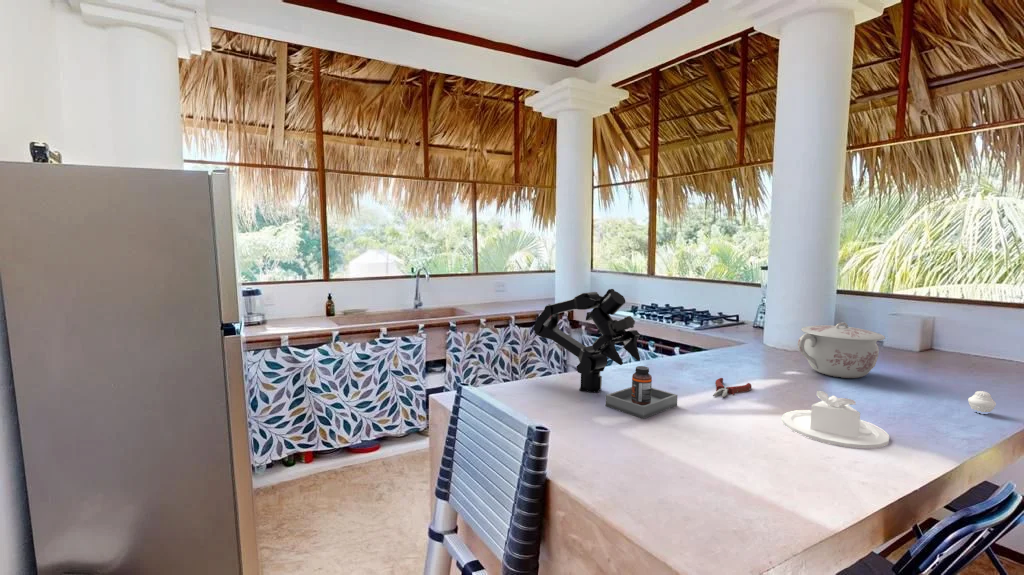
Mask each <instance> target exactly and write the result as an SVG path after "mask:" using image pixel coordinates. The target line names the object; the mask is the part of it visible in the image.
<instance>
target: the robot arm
mask: <svg viewBox="0 0 1024 575" xmlns="http://www.w3.org/2000/svg"><path fill="white" fill-rule="evenodd" d="M625 304H626V299H625V297H624V295H622V294H621V293H620V292H618V291H615V289H614V288H609V289H607V291H606V292H605V294H604V295H603V296H602V295H600V293H598V292H596V291H590V292H581V293H580V294H577V295H576V296H575V297H574V298H571V299H567V300H564V301H558V302H555V303H551V304H550V303H549V304H546V305H545V307H544V308H543V311H542V312H541V313H540V314H539V315H538V316H537V318H536V320H535V323H534V325H533V331H534V334H535V335H536V336H538V337H540V338H544V339H547V340H551V341H553V342H555V343H556V344H557V345H558V346H560V347H562V348H563V349H564V350H566V351H568V352H570V353H571V354H572V355H574V356H575V357H576V358H578V361H579V363H578V364H577V366H576V371H577V373H579V374H580V387H579V389H578V390H579V391H582V392H589V393H599V391H600V390H601V389H602V385H603V384H602V381H603V380H602V378H603V377H602V376H601V372H604V370H605V367H606V366H607V365H608V359H609V360H612V361H613V362H614V363H616V364H618V365H619V366H622V365H624V361H623V360H622V358H621V355H620V354H619V352H618V351H617V349H616V344H618V343H620V344H621V346H622V348H623V350H625V351H626V352H628V353H629V354H630V355H631V356H632V357H633V358H634V359H635V360H636V361H637V362H638V361H640V360H641V355H640V352H639V348H638V343H637V342H638V340H639V338H640V336H641V335H640V332H639V331H638V330H637V329H633V328H635V323H636V320H635V319H634V318H633V316H632V315H627V316H625V317H624V318H622V319H620V320H618V319H613V318H612V317H611V315H615V314H616V313H617V312H618V311H619V310H620V309H621V308H622V307H623V306H624V305H625ZM591 309H592V310H591ZM574 310H591V311H589V312H586V316H585V321H593V323H594V324H595V326H596V328H597V330H596V332H597V334H601V335H600V336H599V337H598V338H597V339H596V340H595V341H593V342H592V345H588V346H586V345H584V344H583V343H581V342H579V340H576V339H575V338H573V337H572V336H570V335H569V334H567V333H566V332H564V331H562V330H561V328H560V327H559V320H560V319H559V315H560V313H565V312H570V311H574ZM549 318H550V319H549ZM628 329H631V330H628Z"/></svg>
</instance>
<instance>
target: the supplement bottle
mask: <svg viewBox="0 0 1024 575" xmlns="http://www.w3.org/2000/svg"><path fill="white" fill-rule="evenodd" d="M634 371H635V372H634V373H633V374H632V376H631V387H632V397H631V398H632V402H633V403H636V404H639V405H647V404H650V403H651V388H652V387H653V386H652V384H653V379H652V375H651V374H650V368H649V367H648V366H643V365H640V366H639V365H637V366H636V367H635V370H634Z"/></svg>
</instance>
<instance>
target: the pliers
mask: <svg viewBox="0 0 1024 575" xmlns="http://www.w3.org/2000/svg"><path fill="white" fill-rule="evenodd" d="M723 383H724V378H723V377H719V378H718V379H716V380H715V382H714V384H715V387H716V388H715V393H714V394H713V395H712V397H718V396H720V395H721V398H724V397H726V396H728V395H731V396H734V395H735V394H739V393H746V392H749V391H751V390H752V384H751V383H750V382H747V383H746V384H743V385H735V386H726V387H725V385H724V384H723Z"/></svg>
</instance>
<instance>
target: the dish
mask: <svg viewBox="0 0 1024 575" xmlns="http://www.w3.org/2000/svg"><path fill="white" fill-rule="evenodd" d="M816 396H817V398H818V399H819V400H821V401H818V402H815V403H813V404H811V409H798V410H796V409H795V410H791V411H787V412H784V413H783V414H782V416H781V422H782V424H783V426H784V425H785V426H784V427H786V426H787V427H788V428H789V429H788V428H787V427H786V428H787V429H788V430H790V429H791V430H792V431H791V430H790V431H791V432H793V431H795V432H797V433H799V434H798V435H800V434H802V435H804V436H806V437H809V438H808V439H810V438H812V439H811V440H813V439H815V440H814V441H816V440H818V441H817V442H820V441H821V442H820V443H823V442H824V443H823V444H827V443H830V444H829V445H832V444H835V445H834V446H837V445H840V446H839V447H842V446H844V447H843V448H851V447H852V448H853V449H864V450H866V449H867V448H868V449H880V448H883V447H884V445H885V446H888V445H889V442H890V435H889V433H887V432H886V431H885V429H883V428H881V427H879V426H877V425H875V424H874V423H871V422H868V421H865V420H862V419H861V412H860V411H858V410H856V409H855V408H853V407H852V405H853V406H854V405H857V404H856V401H855V400H854V399H851V398H844V397H841V398H839V397H837V396H836V395H834V394H833V395H831V396H829V395H828V393H827V392H825V391H822V390H821V391H820V390H817V391H816ZM795 432H794V433H795ZM797 433H796V434H797ZM802 435H801V436H802ZM804 436H803V437H804ZM806 437H805V438H806ZM887 444H888V445H887ZM882 446H883V447H882ZM879 447H880V448H879ZM852 448H851V449H852Z"/></svg>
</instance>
